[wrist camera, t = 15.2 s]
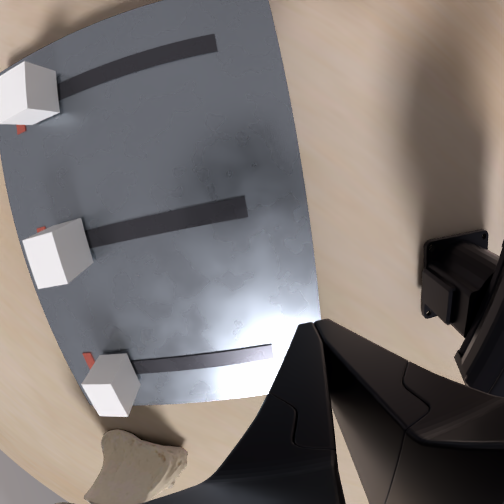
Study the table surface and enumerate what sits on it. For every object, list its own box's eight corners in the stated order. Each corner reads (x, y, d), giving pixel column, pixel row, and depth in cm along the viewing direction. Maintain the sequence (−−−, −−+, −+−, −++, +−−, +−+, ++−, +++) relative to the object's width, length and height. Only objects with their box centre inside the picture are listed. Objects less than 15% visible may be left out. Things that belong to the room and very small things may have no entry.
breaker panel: (262, -6, 16) (263, -19, 14) (320, 368, 25) (326, 384, 23) (9, 79, 17) (-7, 76, 15) (97, 391, 25) (89, 405, 23)
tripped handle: (55, 71, 15) (24, 61, 12) (59, 112, 16) (27, 108, 13) (28, 85, 15) (-4, 78, 12) (32, 125, 16) (-2, 124, 13)
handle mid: (81, 217, 18) (51, 232, 15) (93, 262, 19) (67, 284, 16) (52, 225, 18) (22, 240, 15) (65, 268, 19) (38, 289, 16)
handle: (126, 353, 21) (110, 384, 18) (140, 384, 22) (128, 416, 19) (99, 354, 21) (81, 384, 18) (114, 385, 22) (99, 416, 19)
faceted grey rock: (128, 443, 31) (118, 519, 23) (87, 419, 26) (71, 507, 18) (197, 446, 29) (193, 532, 21) (162, 423, 24) (151, 528, 17)
